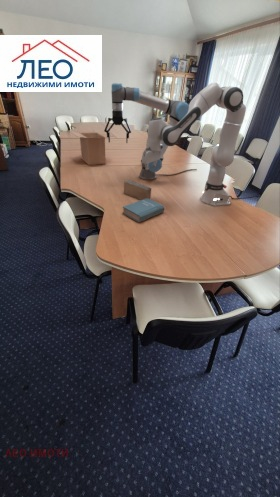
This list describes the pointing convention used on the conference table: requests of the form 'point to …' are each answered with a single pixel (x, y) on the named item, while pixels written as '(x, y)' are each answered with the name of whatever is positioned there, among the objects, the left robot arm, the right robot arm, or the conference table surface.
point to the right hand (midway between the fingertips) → (150, 168)
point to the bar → (137, 190)
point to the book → (142, 209)
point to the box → (92, 146)
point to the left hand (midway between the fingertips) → (118, 142)
